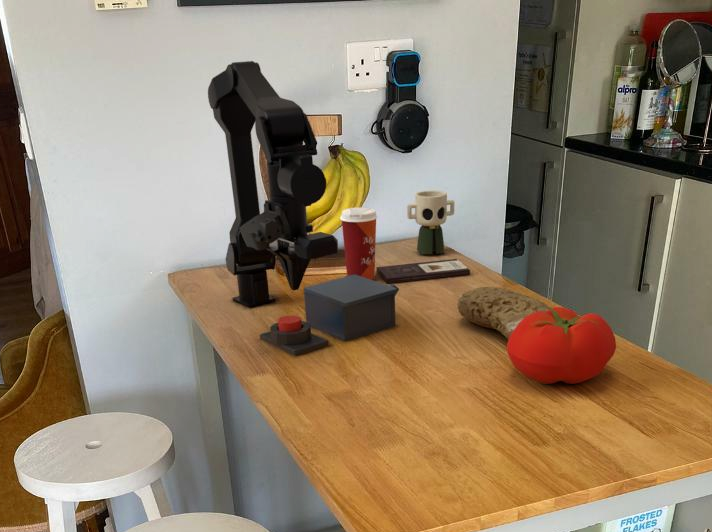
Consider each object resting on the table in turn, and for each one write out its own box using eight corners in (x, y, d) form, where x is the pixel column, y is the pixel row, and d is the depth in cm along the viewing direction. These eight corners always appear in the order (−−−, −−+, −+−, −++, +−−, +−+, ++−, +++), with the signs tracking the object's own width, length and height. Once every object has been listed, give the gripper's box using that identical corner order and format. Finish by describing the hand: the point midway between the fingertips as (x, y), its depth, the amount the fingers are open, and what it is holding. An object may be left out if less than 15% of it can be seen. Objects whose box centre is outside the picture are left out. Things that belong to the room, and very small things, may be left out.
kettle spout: (401, 310, 154) (400, 283, 152) (380, 316, 152) (379, 289, 149) (394, 307, 155) (394, 281, 153) (374, 313, 153) (373, 287, 150)
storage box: (395, 325, 151) (394, 291, 148) (344, 341, 145) (342, 306, 142) (356, 310, 159) (354, 278, 156) (306, 325, 153) (303, 291, 150)
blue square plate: (397, 292, 147) (397, 288, 147) (345, 307, 141) (345, 303, 141) (354, 277, 156) (354, 274, 155) (303, 291, 150) (303, 287, 149)
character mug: (411, 259, 188) (411, 198, 181) (403, 251, 193) (403, 192, 187) (458, 254, 189) (459, 194, 182) (448, 247, 195) (450, 188, 188)
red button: (274, 329, 144) (273, 319, 144) (293, 323, 146) (292, 313, 146) (287, 334, 142) (286, 324, 141) (306, 329, 144) (305, 319, 143)
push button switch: (258, 340, 148) (256, 323, 146) (292, 330, 151) (291, 313, 150) (293, 357, 140) (291, 340, 138) (328, 345, 144) (327, 329, 142)
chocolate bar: (376, 267, 180) (456, 258, 182) (376, 271, 180) (456, 263, 183) (386, 278, 172) (469, 269, 175) (387, 283, 173) (469, 274, 175)
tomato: (487, 373, 131) (490, 312, 125) (567, 351, 137) (573, 292, 132) (548, 405, 120) (554, 340, 115) (632, 380, 126) (641, 316, 121)
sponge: (565, 349, 141) (517, 292, 155) (566, 310, 136) (516, 254, 149) (493, 372, 140) (451, 313, 154) (491, 333, 135) (447, 275, 148)
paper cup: (375, 285, 172) (373, 215, 165) (339, 284, 173) (336, 215, 166) (382, 274, 178) (380, 206, 171) (347, 273, 180) (344, 206, 172)
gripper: (214, 193, 136) (225, 288, 144) (277, 210, 123) (286, 313, 131) (271, 183, 142) (279, 274, 150) (337, 198, 129) (342, 297, 137)
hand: (294, 289), depth 142 cm, fingers closed
